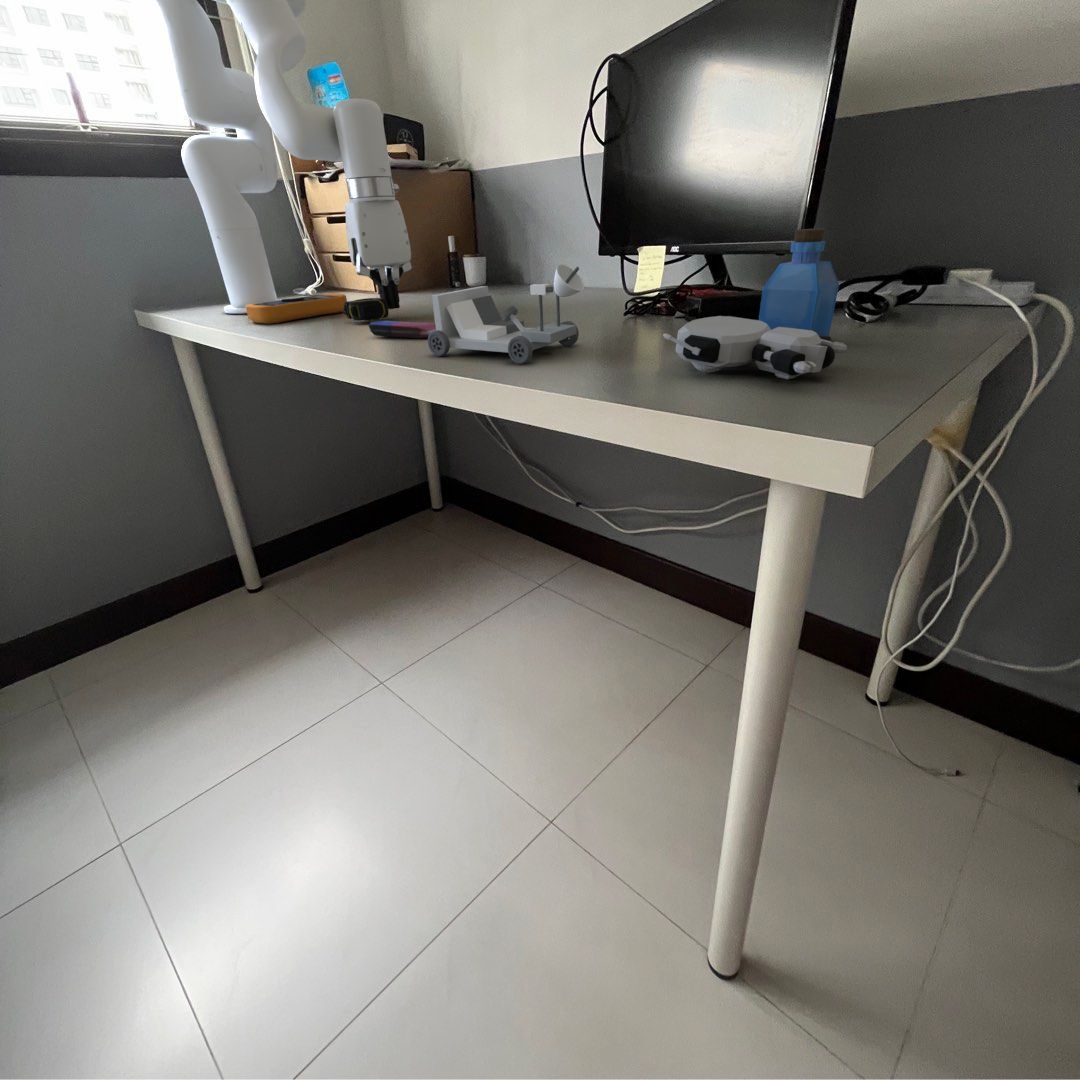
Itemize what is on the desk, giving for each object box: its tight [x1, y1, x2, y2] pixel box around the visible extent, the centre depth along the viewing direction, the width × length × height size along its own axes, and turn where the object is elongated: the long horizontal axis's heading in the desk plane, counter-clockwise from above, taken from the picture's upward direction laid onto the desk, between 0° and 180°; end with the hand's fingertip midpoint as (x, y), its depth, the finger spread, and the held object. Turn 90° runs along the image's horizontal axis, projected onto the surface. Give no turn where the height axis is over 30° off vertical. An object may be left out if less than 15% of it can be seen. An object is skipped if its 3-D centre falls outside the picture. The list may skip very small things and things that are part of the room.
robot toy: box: [662, 315, 848, 380], centre depth 56 cm, size 12×4×15 cm
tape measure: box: [343, 297, 390, 324], centre depth 100 cm, size 7×7×4 cm
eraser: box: [368, 320, 436, 339], centre depth 86 cm, size 11×4×2 cm, turn 67°
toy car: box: [427, 263, 585, 365], centre depth 70 cm, size 18×10×12 cm
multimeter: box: [245, 292, 348, 325], centre depth 111 cm, size 9×18×3 cm, turn 141°
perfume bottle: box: [758, 228, 840, 336], centre depth 66 cm, size 6×6×12 cm
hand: (391, 308), depth 105 cm, fingers closed
